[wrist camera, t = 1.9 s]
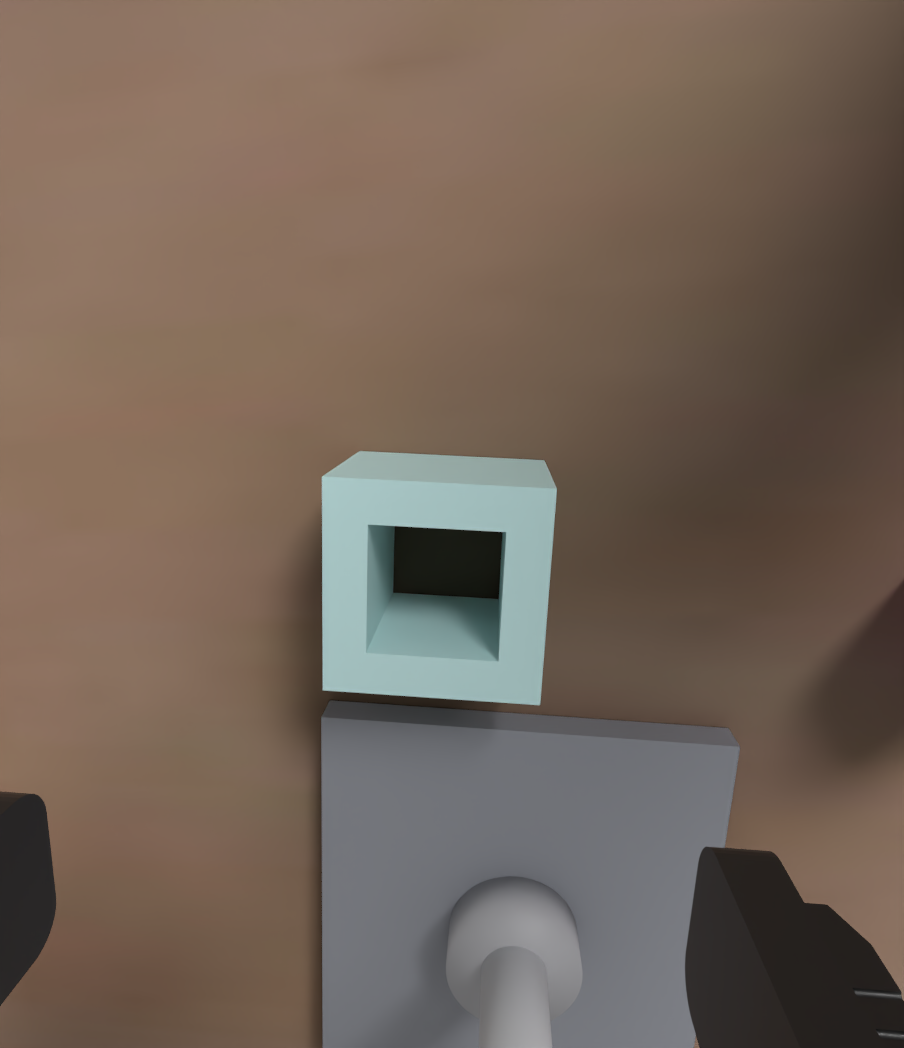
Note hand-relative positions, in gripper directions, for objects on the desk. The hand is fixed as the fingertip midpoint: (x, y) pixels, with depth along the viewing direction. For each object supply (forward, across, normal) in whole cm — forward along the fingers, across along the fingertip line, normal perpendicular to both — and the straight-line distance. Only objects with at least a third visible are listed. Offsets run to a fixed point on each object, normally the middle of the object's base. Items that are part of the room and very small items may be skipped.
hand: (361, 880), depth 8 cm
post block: (+15, -3, +14) cm, 21 cm away
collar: (+15, 0, 0) cm, 15 cm away
